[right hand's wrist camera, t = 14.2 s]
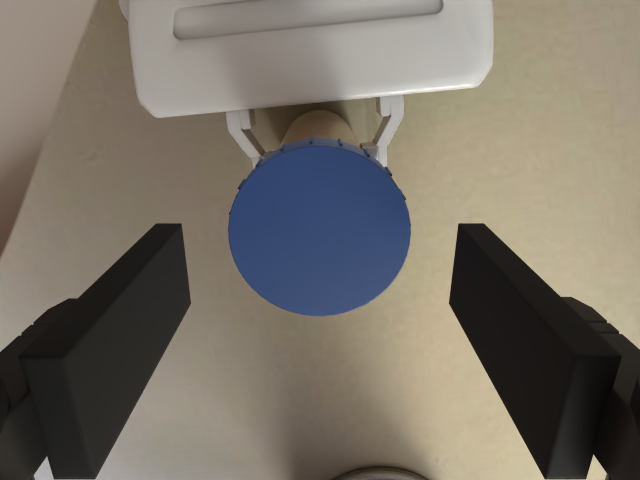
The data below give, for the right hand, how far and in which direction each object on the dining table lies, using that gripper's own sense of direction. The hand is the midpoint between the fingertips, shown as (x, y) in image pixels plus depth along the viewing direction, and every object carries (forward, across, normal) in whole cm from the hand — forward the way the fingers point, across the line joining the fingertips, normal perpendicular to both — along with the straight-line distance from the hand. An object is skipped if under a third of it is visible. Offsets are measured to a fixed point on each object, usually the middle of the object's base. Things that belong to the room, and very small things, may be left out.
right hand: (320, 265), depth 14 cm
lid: (+3, 0, 0) cm, 3 cm away
